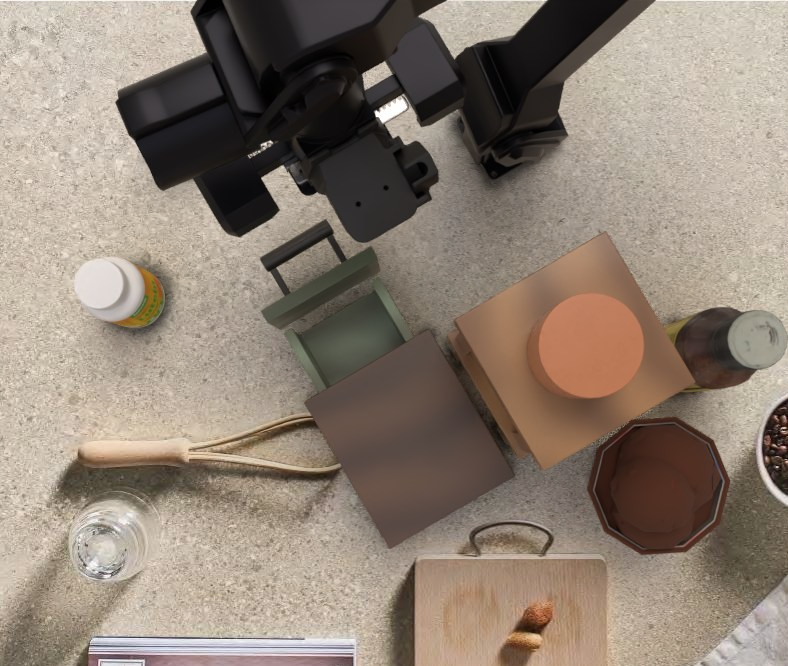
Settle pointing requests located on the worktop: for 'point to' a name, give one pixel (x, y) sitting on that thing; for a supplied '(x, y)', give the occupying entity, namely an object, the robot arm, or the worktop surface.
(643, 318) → the square box with cylinder
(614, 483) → the brown polygonal jar
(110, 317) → the supplement bottle
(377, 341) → the drawer
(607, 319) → the tin
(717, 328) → the sauce bottle
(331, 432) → the cabinet
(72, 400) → the worktop surface
